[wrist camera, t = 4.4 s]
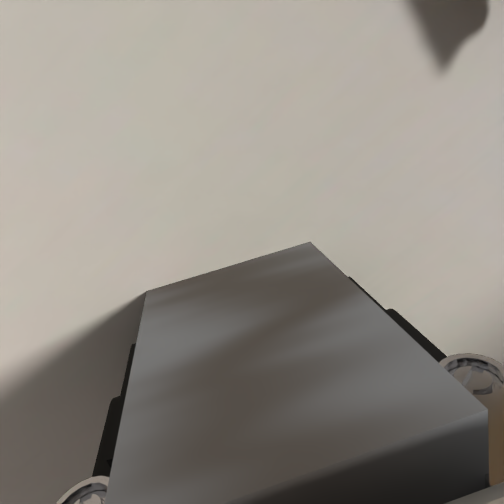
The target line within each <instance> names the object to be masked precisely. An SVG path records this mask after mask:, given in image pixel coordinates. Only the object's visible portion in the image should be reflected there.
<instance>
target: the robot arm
mask: <svg viewBox="0 0 504 504" xmlns="http://www.w3.org/2000/svg"><path fill="white" fill-rule="evenodd" d="M348 278H349V279H350V280H351V281H352V282H353V283H354V284H356V285H357V286H358V287H359V288H360V289H361V290H362V291H363V292H364V293H365V294H366V295H367V296H368V297H369V298H370V299H371V300H373V301H374V302H375V303H376V304H377V305H378V306H379V307H380V308H381V309H382V310H383V311H384V312H385V313H386V314H387V315H388V316H389V317H391V318H392V319H393V320H394V321H395V322H396V323H397V324H398V325H399V326H400V327H401V328H402V329H403V330H404V331H405V332H406V333H407V334H409V335H410V336H411V337H412V338H413V339H414V340H415V341H416V342H417V343H418V344H419V345H420V346H421V347H422V348H423V349H424V350H426V351H427V352H428V353H429V354H430V355H431V356H432V357H433V358H434V359H435V360H436V361H437V362H438V363H439V364H440V365H441V366H442V367H444V368H445V369H446V370H447V371H448V372H449V373H450V374H451V375H452V376H453V377H454V378H455V379H456V380H457V381H458V382H459V383H461V384H462V385H463V386H464V387H465V388H466V389H467V390H468V391H469V392H470V393H471V394H472V395H473V396H474V397H475V398H476V399H477V400H479V401H480V402H481V403H482V404H483V405H484V406H485V407H486V408H487V409H488V436H489V473H487V474H485V489H483V490H480V491H477V492H475V493H472V494H469V495H466V496H464V497H461V498H458V499H455V500H453V501H450V502H447V503H444V504H504V366H503V365H502V364H501V363H499V362H497V361H495V360H494V359H492V358H489V357H486V356H483V355H478V354H471V353H465V354H455V355H451V356H448V357H447V356H446V355H445V354H444V353H442V352H441V351H440V350H439V349H438V348H437V347H436V346H435V345H433V344H432V343H431V342H430V341H429V340H428V339H427V338H426V337H425V336H423V335H422V334H421V333H420V332H419V331H418V330H417V329H416V328H414V327H413V326H412V325H411V324H410V323H409V322H408V321H407V320H405V319H404V318H403V317H402V316H401V315H400V314H399V313H398V312H396V311H395V310H393V309H388V310H385V309H384V308H383V307H382V306H381V305H380V304H379V303H378V302H377V301H376V300H375V299H374V298H372V297H371V296H370V295H369V294H368V293H367V292H366V291H365V290H364V289H363V288H362V287H361V286H360V285H358V284H357V283H356V282H355V281H354V280H353V279H352V278H351V277H348ZM135 347H136V343H135V344H132V346H131V350H130V354H129V359H128V364H127V368H126V373H125V377H124V382H123V386H122V391H121V396H118V397H115V398H113V399H112V401H111V403H110V406H109V410H108V414H107V418H106V422H105V426H104V431H103V435H102V439H101V443H100V447H99V451H98V455H97V459H96V463H95V467H94V471H93V475H92V477H90V478H88V479H86V480H83V481H81V482H79V483H78V484H76V485H75V486H73V487H72V488H71V489H69V490H68V491H67V492H66V493H65V494H64V495H63V496H62V497H61V498H60V499H59V500H58V501H57V503H56V504H104V502H105V497H106V492H107V487H108V482H109V477H110V472H111V467H112V462H113V457H114V452H115V447H116V442H117V437H118V432H119V427H120V422H121V417H122V412H123V407H124V402H125V397H126V392H127V387H128V382H129V377H130V372H131V367H132V362H133V357H134V352H135Z"/></svg>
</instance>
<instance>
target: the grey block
mask: <svg viewBox="0 0 504 504" xmlns="http://www.w3.org/2000/svg"><path fill="white" fill-rule="evenodd" d="M487 473H489V436H488V409H487V408H486V407H485V406H484V405H483V404H482V403H481V402H480V401H479V400H477V399H476V398H475V397H474V396H473V395H472V394H471V393H470V392H469V391H468V390H467V389H466V388H465V387H464V386H463V385H462V384H461V383H459V382H458V381H457V380H456V379H455V378H454V377H453V376H452V375H451V374H450V373H449V372H448V371H447V370H446V369H445V368H444V367H442V366H441V365H440V364H439V363H438V362H437V361H436V360H435V359H434V358H433V357H432V356H431V355H430V354H429V353H428V352H427V351H426V350H424V349H423V348H422V347H421V346H420V345H419V344H418V343H417V342H416V341H415V340H414V339H413V338H412V337H411V336H410V335H409V334H407V333H406V332H405V331H404V330H403V329H402V328H401V327H400V326H399V325H398V324H397V323H396V322H395V321H394V320H393V319H392V318H391V317H389V316H388V315H387V314H386V313H385V312H384V311H383V310H382V309H381V308H380V307H379V306H378V305H377V304H376V303H375V302H374V301H373V300H371V299H370V298H369V297H368V296H367V295H366V294H365V293H364V292H363V291H362V290H361V289H360V288H359V287H358V286H357V285H356V284H354V283H353V282H352V281H351V280H350V279H349V278H348V277H347V276H346V275H345V274H344V273H343V272H342V271H341V270H340V269H339V268H338V267H336V266H335V265H334V264H333V263H332V262H331V261H330V260H329V259H328V258H327V257H326V256H325V255H324V254H323V253H322V252H321V251H319V250H318V249H317V248H316V247H315V246H314V245H313V244H312V243H311V242H308V243H305V244H302V245H298V246H295V247H292V248H288V249H285V250H282V251H278V252H275V253H272V254H269V255H265V256H262V257H259V258H255V259H252V260H249V261H245V262H242V263H239V264H235V265H232V266H229V267H226V268H222V269H219V270H216V271H212V272H209V273H206V274H202V275H199V276H196V277H192V278H189V279H186V280H182V281H179V282H176V283H173V284H169V285H166V286H163V287H159V288H156V289H153V290H149V291H147V292H146V297H145V302H144V307H143V312H142V317H141V322H140V327H139V332H138V337H137V342H136V347H135V352H134V357H133V362H132V367H131V372H130V377H129V382H128V387H127V392H126V397H125V402H124V407H123V412H122V417H121V422H120V427H119V432H118V437H117V442H116V447H115V452H114V457H113V462H112V467H111V472H110V477H109V482H108V487H107V492H106V497H105V502H104V504H444V503H447V502H450V501H453V500H455V499H458V498H461V497H464V496H466V495H469V494H472V493H475V492H477V491H480V490H483V489H485V474H487Z"/></svg>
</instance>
